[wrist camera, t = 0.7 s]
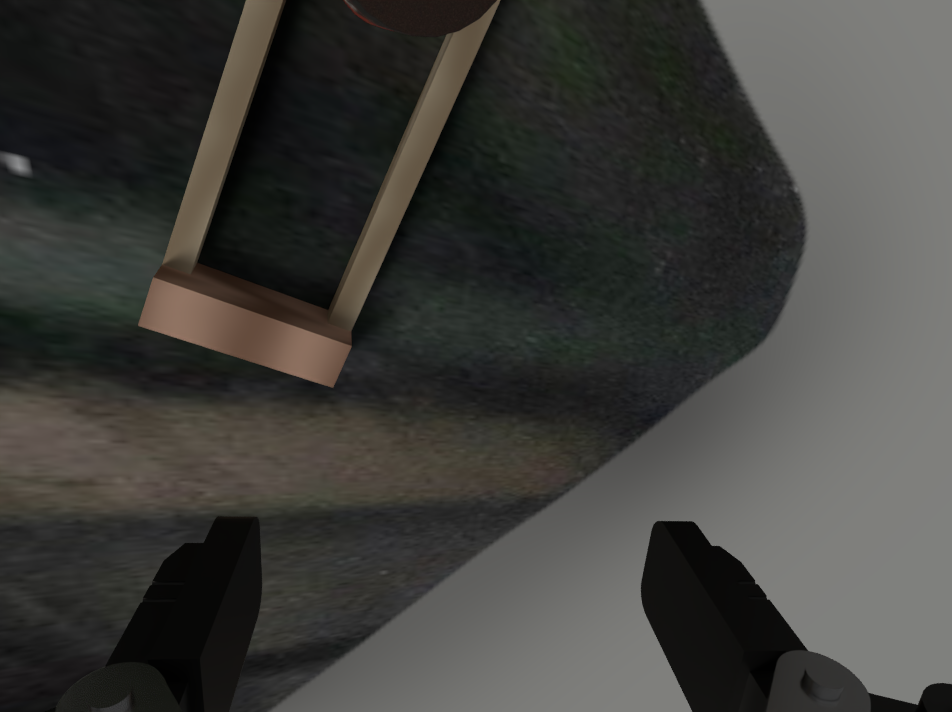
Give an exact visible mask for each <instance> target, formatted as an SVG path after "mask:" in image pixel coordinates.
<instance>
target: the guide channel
mask: <svg viewBox="0 0 952 712" xmlns="http://www.w3.org/2000/svg"><path fill="white" fill-rule="evenodd" d="M285 2H286V0H246V3H245V6H244V9H243V12H242V16H241V19H240V22H239V25H238V28H237V31H236V34H235V38H234V41H233V44H232V47H231V50H230V53H229V56H228V60H227V63H226V66H225V69H224V72H223V75H222V78H221V82H220V85H219V88H218V91H217V94H216V97H215V100H214V104H213V107H212V110H211V113H210V116H209V119H208V122H207V126H206V129H205V132H204V135H203V138H202V141H201V144H200V148H199V151H198V154H197V157H196V160H195V163H194V166H193V170H192V173H191V176H190V179H189V182H188V185H187V188H186V192H185V195H184V198H183V201H182V204H181V207H180V210H179V214H178V217H177V220H176V223H175V226H174V229H173V232H172V236H171V239H170V242H169V245H168V248H167V251H166V254H165V258H164V261H163V264H162V266H161V267H160V269H159V270H158V271H157V273H156V274H155V276H154V277H153V280H152V283H151V286H150V289H149V293H148V296H147V299H146V302H145V305H144V308H143V312H142V315H141V318H140V321H139V324H138V326H141V327H144V328H147V329H150V330H153V331H156V332H160V333H163V334H166V335H169V336H172V337H175V338H178V339H182V340H185V341H188V342H191V343H194V344H197V345H200V346H204V347H207V348H210V349H213V350H216V351H219V352H222V353H226V354H229V355H232V356H235V357H238V358H241V359H244V360H247V361H251V362H254V363H257V364H260V365H263V366H266V367H269V368H273V369H276V370H279V371H282V372H285V373H288V374H291V375H295V376H298V377H301V378H304V379H307V380H310V381H313V382H317V383H320V384H323V385H326V386H329V387H332V388H333V386H334V384H335V382H336V380H337V378H338V375H339V373H340V371H341V369H342V367H343V364H344V362H345V360H346V358H347V356H348V353H349V351H350V349H351V347H352V340H351V331H352V328H353V326H354V324H355V322H356V320H357V317H358V315H359V313H360V311H361V309H362V306H363V304H364V302H365V300H366V297H367V295H368V293H369V291H370V289H371V286H372V284H373V282H374V280H375V277H376V275H377V273H378V271H379V269H380V266H381V264H382V262H383V260H384V258H385V255H386V253H387V251H388V249H389V246H390V244H391V242H392V240H393V238H394V235H395V233H396V231H397V229H398V226H399V224H400V222H401V220H402V218H403V215H404V213H405V211H406V209H407V207H408V204H409V202H410V200H411V198H412V195H413V193H414V191H415V189H416V187H417V184H418V182H419V180H420V178H421V175H422V173H423V171H424V169H425V167H426V164H427V162H428V160H429V158H430V156H431V153H432V151H433V149H434V147H435V144H436V142H437V140H438V138H439V136H440V133H441V131H442V129H443V127H444V124H445V122H446V120H447V118H448V116H449V113H450V111H451V109H452V107H453V105H454V102H455V100H456V98H457V96H458V93H459V91H460V89H461V87H462V85H463V82H464V80H465V78H466V76H467V73H468V71H469V69H470V67H471V65H472V62H473V60H474V58H475V56H476V54H477V51H478V49H479V47H480V45H481V42H482V40H483V38H484V36H485V34H486V31H487V29H488V27H489V25H490V22H491V20H492V18H493V16H494V14H495V11H496V9H497V7H498V5H499V3H500V0H497V1H496V2H495V3H494V4H493V5H492V6H491V8H490V9H489V10H488V11H487V12H486V13H485V14H484V15H483V16H482V17H481V18H480V19H479V20H477V21H475V22H474V23H472V24H470V25H469V26H467V27H465V28H463V29H462V30H460V31H458V32H454V33H450V34H447V35H446V37H445V40H444V42H443V44H442V46H441V49H440V51H439V53H438V56H437V58H436V60H435V63H434V65H433V67H432V70H431V72H430V74H429V77H428V79H427V81H426V84H425V86H424V88H423V91H422V93H421V95H420V98H419V100H418V102H417V105H416V107H415V109H414V112H413V114H412V116H411V118H410V121H409V123H408V125H407V128H406V130H405V132H404V135H403V137H402V139H401V142H400V144H399V146H398V149H397V151H396V153H395V156H394V158H393V160H392V163H391V165H390V167H389V170H388V172H387V174H386V177H385V179H384V181H383V184H382V186H381V188H380V190H379V193H378V195H377V197H376V200H375V202H374V204H373V207H372V209H371V211H370V214H369V216H368V218H367V221H366V223H365V225H364V228H363V230H362V232H361V235H360V237H359V239H358V242H357V244H356V246H355V249H354V251H353V253H352V256H351V258H350V260H349V262H348V265H347V267H346V269H345V272H344V274H343V276H342V279H341V281H340V283H339V286H338V288H337V290H336V293H335V295H334V297H333V300H332V302H331V304H330V307H329V309H328V310H326V309H324V308H321V307H318V306H315V305H313V304H310V303H307V302H304V301H302V300H299V299H296V298H293V297H291V296H288V295H285V294H282V293H279V292H277V291H274V290H271V289H268V288H266V287H263V286H260V285H257V284H255V283H252V282H249V281H246V280H244V279H241V278H238V277H235V276H233V275H230V274H227V273H224V272H222V271H219V270H216V269H213V268H211V267H208V266H205V265H202V264H200V263H197V262H198V259H199V256H200V253H201V250H202V247H203V244H204V241H205V238H206V235H207V232H208V229H209V226H210V223H211V221H212V218H213V215H214V212H215V209H216V206H217V203H218V200H219V197H220V194H221V191H222V188H223V185H224V182H225V179H226V176H227V173H228V170H229V167H230V164H231V162H232V159H233V156H234V153H235V150H236V147H237V144H238V141H239V138H240V135H241V132H242V129H243V126H244V123H245V120H246V117H247V114H248V111H249V108H250V105H251V103H252V100H253V97H254V94H255V91H256V88H257V85H258V82H259V79H260V76H261V73H262V70H263V67H264V64H265V61H266V58H267V55H268V52H269V49H270V46H271V44H272V41H273V38H274V35H275V32H276V29H277V26H278V23H279V20H280V17H281V14H282V11H283V8H284V5H285Z"/></svg>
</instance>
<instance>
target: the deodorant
mask: <svg viewBox="0 0 952 712" xmlns="http://www.w3.org/2000/svg"><path fill="white" fill-rule="evenodd" d="M343 1H344V2H345V3H346V4H347V6H348V7H349V8H350V9H351V10H352V11H353V12H354V13H355V15H357V16H358V17H360V18H361V19H363V20H364V21H366V22H367V23H369V24H371V25H374V26H377V27H380V28H383V29H387V30H391V31H395V32H399V33H403V34H406V35H410V36H423V37H439V36H442V35H446V34H450V33H454V32H458V31H460V30H462V29H463V28H465V27H467V26H469V25H470V24H472V23H474V22H475V21H477V20H479V19H480V18H481V17H482V16H483V15H484V14H485V13H486V12H487V11H488V10H489V9H490V8H491V6H492V5H493V4H494V3H495V2H496V1H497V0H343Z"/></svg>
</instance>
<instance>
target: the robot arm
mask: <svg viewBox="0 0 952 712" xmlns="http://www.w3.org/2000/svg"><path fill="white" fill-rule="evenodd" d="M261 595H262V568H261V545H260V525H259V519H258V517H217V518H216V519H215V521H214V523H213V525H212V527H211V529H210V531H209V533H208V535H207V537H206V539H205V541H204V543H185V544H184V545H182V546H181V547H180V548H179V549H177V550H176V551H175V552H174V553H173V554H171V555H170V556H169V557H168V558H167V559H165V560H164V561H163V563H162V565H161V567H160V569H159V570H158V572H157V574H156V576H155V578H154V579H153V581H152V585H150V587H149V588H148V590H147V592H146V594H145V596H144V597H143V602H142V603H140V605H139V606H138V608H137V610H136V612H135V614H134V615H133V617H132V619H131V621H130V623H129V624H128V626H127V628H126V630H125V632H124V633H123V635H122V637H121V639H120V641H119V642H118V644H117V646H116V648H115V650H114V651H113V653H112V655H111V657H110V659H109V660H108V662H107V664H106V666H105V667H103V668H101V669H98V670H96V671H94V672H92V673H90V674H88V675H87V676H85V677H84V678H82V679H80V680H79V681H78V682H77V683H75V684H74V685H73V686H72V687H71V688H70V689H69V690H68V691H67V692H66V693H65V694H64V695H63V697H62V698H61V699H60V701H59V703H58V705H57V707H55V708H53V709H50V710H48V711H45V712H229V710H230V707H231V704H232V700H233V697H234V694H235V691H236V687H237V684H238V681H239V677H240V674H241V671H242V667H243V664H244V661H245V658H246V654H247V651H248V648H249V644H250V641H251V638H252V634H253V631H254V628H255V624H256V621H257V618H258V614H259V609H260V603H261ZM641 597H642V604H643V608H644V611H645V614H646V616H647V618H648V620H649V622H650V624H651V627H652V629H653V631H654V633H655V635H656V637H657V639H658V641H659V643H660V645H661V647H662V649H663V651H664V653H665V655H666V658H667V660H668V662H669V664H670V666H671V668H672V670H673V672H674V674H675V676H676V678H677V681H678V683H679V685H680V687H681V689H682V691H683V693H684V695H685V697H686V699H687V701H688V703H689V705H690V708H691V710H692V712H952V684H945V683H937V684H932V685H930V686H928V687H926V689H925V690H924V691H923V694H922V696H921V698H920V701H919V703H918V705H916V704H912V703H907V702H903V701H899V700H895V699H891V698H887V697H883V696H878V695H874V694H871V693H868V692H867V690H866V688H865V686H864V685H863V684H862V682H861V681H860V680H859V679H858V678H857V677H856V676H855V675H854V674H853V673H852V672H851V671H850V670H848V669H847V668H846V667H844V666H843V665H841V664H840V663H838V662H836V661H834V660H833V659H830V658H828V657H826V656H823V655H821V654H818V653H814V652H810V651H808V650H807V649H806V647H805V646H804V645H803V643H802V642H801V641H800V639H799V638H798V637H797V635H796V634H795V633H794V631H793V630H792V629H791V627H790V626H789V625H788V624H787V622H786V621H785V620H784V618H783V617H782V616H781V614H780V613H779V612H778V611H777V609H776V608H775V606H774V605H773V604H772V602H771V601H770V600H767V598H766V594H765V593H764V592H763V590H762V589H761V588H760V586H759V585H758V584H755V580H754V578H753V577H752V576H751V575H750V573H749V572H748V571H747V569H746V568H745V567H744V565H743V564H742V563H741V562H740V561H739V560H738V559H736V558H735V557H733V556H732V555H731V554H730V553H728V552H727V551H726V550H724V549H723V548H721V547H720V546H712V545H711V544H710V543H709V541H708V540H707V539H706V537H705V536H704V534H703V533H702V532H701V530H700V529H699V527H698V526H697V525H696V524H695V523H694V522H692V521H689V522H687V521H657V522H656V523H655V524H654V525H653V528H652V531H651V537H650V542H649V546H648V552H647V556H646V561H645V567H644V572H643V577H642V583H641Z"/></svg>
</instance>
